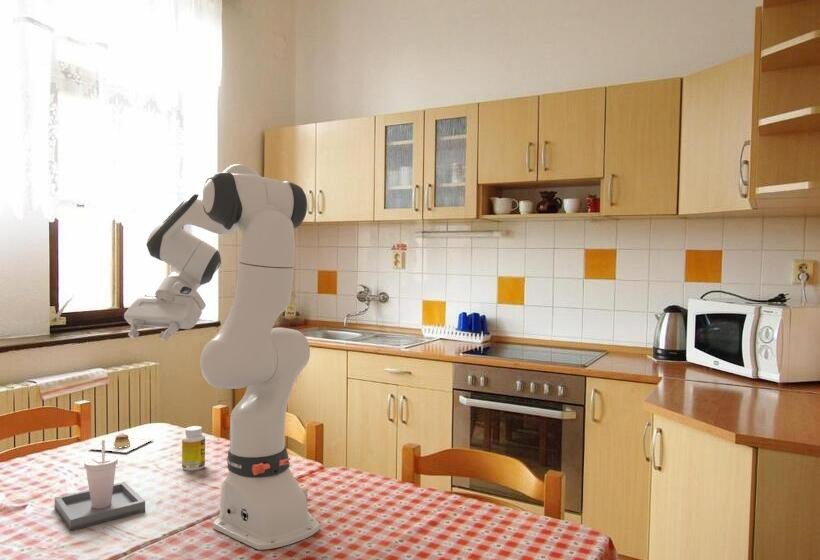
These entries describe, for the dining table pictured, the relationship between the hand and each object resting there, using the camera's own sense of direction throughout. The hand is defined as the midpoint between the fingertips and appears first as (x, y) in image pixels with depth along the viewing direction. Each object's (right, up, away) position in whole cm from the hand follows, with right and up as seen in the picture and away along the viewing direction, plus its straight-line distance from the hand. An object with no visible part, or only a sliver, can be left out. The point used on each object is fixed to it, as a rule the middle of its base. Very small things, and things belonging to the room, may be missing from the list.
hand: (146, 337), depth 148 cm
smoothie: (0, -34, -22) cm, 40 cm away
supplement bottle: (+10, -34, +3) cm, 35 cm away
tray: (0, -34, -22) cm, 41 cm away
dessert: (-16, -33, +20) cm, 42 cm away
